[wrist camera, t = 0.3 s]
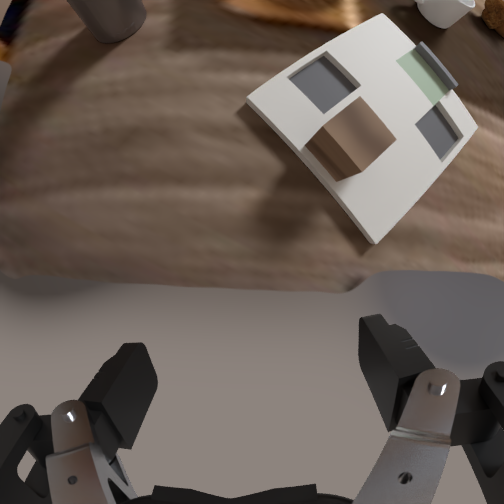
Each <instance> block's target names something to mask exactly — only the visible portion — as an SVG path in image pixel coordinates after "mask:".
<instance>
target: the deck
mask: <svg viewBox="0 0 504 504" xmlns="http://www.w3.org/2000/svg"><path fill="white" fill-rule="evenodd" d="M412 49H415V50H416V51H417V52H418V53H419V55H420V56H421V57H422V58H423V59H424V60H425V61H426V63H427V64H428V65H429V66H430V67H431V68H432V70H433V71H434V72H435V73H436V74H437V76H438V77H439V78H440V79H441V81H442V82H443V83H444V84H445V86H446V87H447V88H448V90H449V91H448V92H447V93H446V94H445V95H444V96H443V97H442V98H441V99H440V100H439V101H438V102H437V103H436V104H435V105H434V106H433V105H432V103H431V102H430V101H429V99H428V98H427V97H426V96H425V94H424V93H423V92H422V91H421V89H420V88H419V87H418V86H417V85H416V83H415V82H414V81H413V80H412V79H411V77H410V76H409V75H408V74H407V73H406V72H405V71H404V70H403V68H402V67H401V66H400V65H399V64H398V63H397V62H396V60H398V59H399V58H400V57H402V56H403V55H405V54H406V53H408V52H409V51H411V50H412ZM457 85H458V83H457V82H456V81H455V80H454V78H453V77H452V76H451V74H450V73H449V72H448V71H447V69H446V68H445V67H444V66H443V64H442V63H441V62H440V61H439V60H438V58H437V57H436V56H435V55H434V54H433V53H432V52H431V50H430V49H429V48H428V47H427V46H426V45H425V44H424V43H423V42H421V43H419V44H418V45H417V46H416V45H415V44H414V43H413V42H412V41H411V40H410V39H409V38H408V37H407V36H406V35H405V34H404V33H403V32H402V31H401V30H400V29H399V28H398V27H397V26H396V25H395V24H394V23H393V22H392V21H391V20H390V19H388V18H387V17H386V16H385V15H384V14H383V13H381V14H379V15H377V16H375V17H373V18H371V19H369V20H367V21H365V22H364V23H362V24H360V25H358V26H356V27H354V28H352V29H350V30H349V31H347V32H345V33H343V34H341V35H340V36H338V37H336V38H334V39H333V40H331V41H329V42H327V43H326V44H324V45H322V46H321V47H319V48H317V49H316V50H314V51H313V52H311V53H309V54H308V55H306V56H305V57H303V58H302V59H300V60H298V61H297V62H295V63H294V64H292V65H291V66H289V67H288V68H286V69H285V70H283V71H282V72H280V73H279V74H277V75H276V76H275V77H273V78H272V79H270V80H269V81H267V82H266V83H265V84H263V85H262V86H260V87H259V88H258V89H256V90H255V91H254V92H252V93H251V94H250V95H248V96H247V98H246V103H247V104H248V105H249V106H250V107H251V108H252V109H253V110H254V111H255V112H256V113H257V114H258V115H259V116H260V117H261V118H262V119H263V120H264V121H265V122H266V123H267V124H268V125H269V126H270V127H271V128H272V129H273V130H274V131H275V132H276V133H277V134H278V135H279V136H280V138H281V139H282V140H283V141H284V142H285V143H286V144H287V145H288V146H289V147H290V148H291V149H292V150H293V152H294V153H295V154H296V155H297V156H298V157H299V158H300V159H301V160H302V161H303V163H304V164H305V165H306V166H307V167H308V168H309V169H310V170H311V172H312V173H313V174H314V175H315V176H316V177H317V178H318V180H319V181H320V182H321V183H322V184H323V185H324V187H325V188H326V189H327V190H328V191H329V193H330V194H331V195H332V196H333V197H334V199H335V200H336V201H337V202H338V203H339V205H340V206H341V207H342V208H343V210H344V211H345V212H346V213H347V215H348V216H349V217H350V218H351V220H352V221H353V222H354V223H355V225H356V226H357V227H358V228H359V230H360V231H361V232H362V234H363V235H364V236H365V238H366V239H367V240H368V241H369V243H371V244H377V243H378V242H379V241H380V240H381V239H382V238H383V237H384V236H385V235H386V234H387V233H388V232H389V231H390V230H391V229H392V228H393V226H394V225H395V224H396V223H397V222H398V221H399V220H400V219H401V218H402V217H403V216H404V215H405V214H406V213H407V211H408V210H409V209H410V208H411V207H412V206H413V205H414V204H415V203H416V202H417V200H418V199H419V198H420V197H421V196H422V195H423V194H424V193H425V191H426V190H427V189H428V188H429V187H430V186H431V185H432V183H433V182H434V181H435V180H436V179H437V178H438V177H439V175H440V174H441V173H442V172H443V171H444V169H445V168H446V167H447V166H448V165H449V163H450V162H451V161H452V160H453V159H454V157H455V156H456V155H457V154H458V152H459V151H460V150H461V149H462V147H463V146H464V145H465V144H466V142H467V141H468V140H469V139H470V137H471V136H472V135H473V133H474V132H475V131H476V130H477V128H478V126H477V125H476V123H475V121H474V120H473V118H472V117H471V115H470V114H469V112H468V111H467V109H466V108H465V106H464V105H463V103H462V102H461V101H460V99H459V98H458V96H457V95H456V94H455V92H454V91H453V90H452V89H453V88H455V87H456V86H457ZM359 96H361V98H362V99H363V100H364V101H365V102H366V103H367V104H368V105H369V106H370V108H371V109H372V110H373V111H374V112H375V113H376V115H377V116H378V117H379V118H380V119H381V120H382V122H383V123H384V124H385V125H386V127H387V128H388V129H389V130H390V131H391V133H392V134H393V135H394V137H395V138H396V139H397V140H396V141H395V142H394V143H393V144H392V145H391V146H389V147H388V148H387V149H386V150H385V151H384V152H383V153H382V154H381V155H380V156H379V157H378V158H377V159H376V160H375V161H374V162H373V163H371V164H370V165H369V166H368V167H367V168H366V169H365V170H364V171H363V172H361V173H359V174H356V175H354V176H351V177H348V178H346V179H343V180H341V181H338V182H336V181H335V180H334V179H333V177H332V176H331V175H330V174H329V173H328V171H327V170H326V169H325V168H324V167H323V166H322V165H321V163H320V162H319V161H318V160H317V159H316V158H315V157H314V155H313V154H312V153H311V152H310V151H309V150H308V149H307V148H306V147H305V144H306V143H307V142H308V141H309V140H310V139H311V138H312V137H313V135H314V134H315V133H316V132H317V131H318V130H319V129H320V128H321V127H322V126H323V125H324V124H325V123H327V122H328V121H329V120H330V119H331V118H333V117H334V116H335V115H336V114H338V113H339V112H340V111H342V110H343V109H344V108H345V107H347V106H348V105H349V104H350V103H352V102H353V101H354V100H356V99H357V98H358V97H359Z"/></svg>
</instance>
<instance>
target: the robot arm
mask: <svg viewBox="0 0 504 504" xmlns="http://www.w3.org/2000/svg"><path fill="white" fill-rule="evenodd" d="M67 2H68V3H69V4H70V5H71V7H72V8H73V9H74V11H75V12H76V13H77V14H78V16H79V17H80V18H81V20H82V21H83V22H84V24H85V25H86V26H87V28H88V29H89V30H90V31H91V33H92V34H93V35H94V37H95V38H96V39H97V40H98V41H100V42H103V43H113V42H117V41H120V40H123V39H125V38H127V37H129V36H130V35H132V34H133V33H134V32H136V31H137V30H138V29H139V28H140V27H141V25H142V24H143V23H144V21H145V18H146V10H145V7H144V5H143V3H142V0H67ZM358 356H359V363H360V367H361V370H362V372H363V374H364V377H365V379H366V381H367V383H368V386H369V388H370V390H371V392H372V395H373V397H374V400H375V402H376V404H377V406H378V409H379V411H380V414H381V416H382V418H383V421H384V423H385V426H386V428H387V430H388V432H389V431H392V432H391V434H390V436H389V438H388V440H387V442H386V444H385V446H384V448H383V450H382V453H381V454H380V456H379V458H378V460H377V462H376V464H375V465H374V467H373V469H372V471H371V473H370V475H369V476H368V478H367V480H366V482H365V483H364V485H363V486H362V488H361V490H360V491H359V493H358V495H357V497H356V498H355V499H354V500H352V499H349V498H345V497H342V496H337V495H331V494H323V493H317V489H316V484H310V485H303V486H296V487H285V488H275V489H270V490H267V491H263V492H259V493H255V494H251V495H246V496H242V497H237V498H231V499H230V498H224V497H219V496H215V495H211V494H207V493H203V492H200V491H196V490H192V489H184V488H173V487H164V486H156V485H155V486H154V489H153V493H152V495H147V496H141V497H138V496H137V494H136V493H135V491H134V489H133V487H132V485H131V482H130V480H129V478H128V476H127V474H126V471H125V469H124V467H123V464H122V462H121V459H120V457H119V456H118V454H117V453H116V452H117V450H118V448H124V449H132V446H133V443H134V441H135V439H136V437H137V434H138V432H139V429H140V427H141V425H142V422H143V420H144V418H145V415H146V413H147V411H148V408H149V406H150V404H151V401H152V399H153V397H154V394H155V392H156V390H157V385H158V380H157V375H156V372H155V369H154V367H153V364H152V362H151V359H150V357H149V354H148V351H147V349H146V347H145V345H144V344H143V343H124V344H123V345H122V346H121V347H120V349H119V350H118V352H117V353H116V355H114V356H113V357H111V358H110V359H109V360H107V361H106V362H105V363H104V364H103V365H102V367H101V368H100V370H99V372H98V373H97V374H96V375H95V376H94V379H92V381H91V382H90V384H89V385H88V387H87V388H86V389H85V391H84V392H83V393H82V395H81V396H80V398H79V399H78V400H69V401H65V402H63V403H61V404H60V405H58V406H57V407H56V408H55V409H54V410H53V412H52V414H51V415H42V416H39V415H38V413H37V412H36V411H35V409H34V407H33V406H31V405H29V404H23V405H19V406H17V407H15V408H14V409H12V410H11V411H10V413H9V414H8V415H7V416H6V418H5V419H4V420H3V422H2V423H1V424H0V504H431V502H432V499H433V497H434V494H435V492H436V489H437V486H438V483H439V480H440V478H441V475H442V472H443V469H444V466H445V463H446V459H447V456H448V452H449V449H450V446H457V445H462V447H463V449H464V451H465V453H466V455H467V458H468V460H469V462H470V464H471V466H472V469H473V471H474V473H475V475H476V478H477V480H478V482H479V484H480V487H481V489H482V492H483V494H484V497H485V499H486V502H487V504H504V431H503V430H504V362H501V361H500V362H495V363H492V364H490V365H489V366H488V367H487V368H486V369H485V371H484V375H483V377H482V378H477V379H469V380H459V378H458V377H457V376H456V375H455V374H454V373H453V372H451V371H449V370H445V369H439V368H435V366H434V365H433V364H432V362H431V361H430V360H429V359H428V357H427V356H426V355H425V353H424V352H423V351H422V349H421V348H420V347H419V346H418V344H417V343H416V342H415V340H413V339H412V337H411V335H410V334H409V333H408V332H407V330H406V329H404V328H402V327H400V326H398V325H396V324H393V325H388V323H387V322H386V321H385V319H384V318H383V316H382V315H381V314H376V315H371V316H366V317H361V318H360V319H359V349H358ZM501 427H502V428H501ZM27 450H28V451H29V453H30V454H31V455H32V456H33V457H34V458H35V459H36V462H35V464H34V465H33V467H32V469H31V471H30V473H29V475H28V477H27V478H26V481H25V482H23V481H22V480H21V479H20V478H19V476H18V473H17V467H18V464H19V463H20V461H21V459H22V458H23V456H24V454H25V453H26V451H27Z"/></svg>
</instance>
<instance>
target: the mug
mask: <svg viewBox="0 0 504 504" xmlns="http://www.w3.org/2000/svg"><path fill="white" fill-rule="evenodd" d="M414 1H415V2H417V6H418V9H419V11H420V12H421V14H422V15H423V16H424V17H425V18H426V19H427V20H428V21H429V22H430V23H432V24H433V25H435V26H437V27H439V28H443V29H446V28H448V27H450V26H451V25H453V24H454V23H455V22H456V21H458V20H459V19H460V18H461V17H462V16H464V15H465V14H466V13H467V12H469V11H470V10H471V9H472V8H474V7H475V2H474V0H414Z"/></svg>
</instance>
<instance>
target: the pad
mask: <svg viewBox="0 0 504 504" xmlns="http://www.w3.org/2000/svg"><path fill="white" fill-rule="evenodd" d="M396 62H397V63H398V64H399V65H400V66H401V67H402V68H403V70H404V71H405V72H406V73H407V74H408V75H409V76H410V77H411V79H412V80H413V81H414V82H415V83H416V85H417V86H418V87H419V88H420V89H421V91H422V92H423V93H424V94H425V96H426V97H427V98H428V99H429V101H430V102H431V103H432V105H433V106H434V105H435V104H436V103H437V102H438V101H439V100H440V99H441V98H442V97H443V96H444V95H445V94H446V93H447V92H448V91H449V90H448V88H447V87H446V86H445V84H444V83H443V82H442V81H441V79H440V78H439V77H438V76H437V74H436V73H435V72H434V71H433V70H432V68H431V67H430V66H429V65H428V64H427V63H426V61H425V60H424V59H423V58H422V57H421V56H420V55H419V53H418V52H417V51H416V50H415V49H412V50H411V51H409V52H408V53H406V54H405V55H403V56H402V57H400V58H399V59H398V60H396Z"/></svg>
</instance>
